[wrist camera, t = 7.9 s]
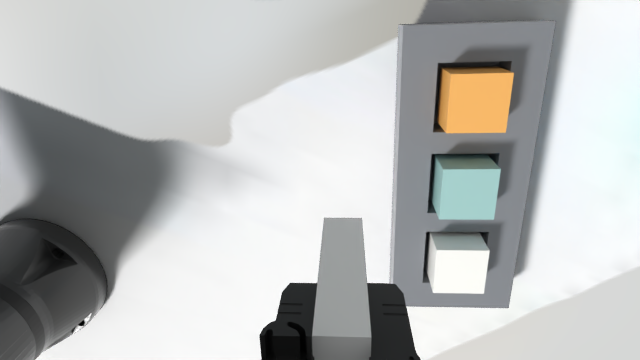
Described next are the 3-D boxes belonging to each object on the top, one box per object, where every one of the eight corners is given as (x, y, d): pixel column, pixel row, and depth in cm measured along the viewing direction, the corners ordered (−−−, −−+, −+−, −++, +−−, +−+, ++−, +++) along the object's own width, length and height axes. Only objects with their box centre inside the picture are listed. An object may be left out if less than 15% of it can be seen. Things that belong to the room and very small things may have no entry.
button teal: (431, 200, 42) (439, 219, 38) (434, 154, 40) (443, 169, 36) (481, 200, 41) (493, 219, 37) (486, 154, 39) (500, 169, 36)
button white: (426, 269, 45) (433, 292, 41) (429, 229, 43) (436, 250, 39) (472, 269, 44) (483, 293, 40) (477, 229, 42) (489, 250, 39)
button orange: (437, 121, 39) (446, 133, 35) (440, 67, 37) (451, 74, 33) (490, 120, 38) (505, 132, 34) (497, 66, 36) (514, 72, 33)
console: (389, 286, 48) (392, 305, 45) (398, 24, 37) (403, 25, 34) (497, 287, 47) (508, 308, 44) (537, 20, 37) (556, 20, 33)
